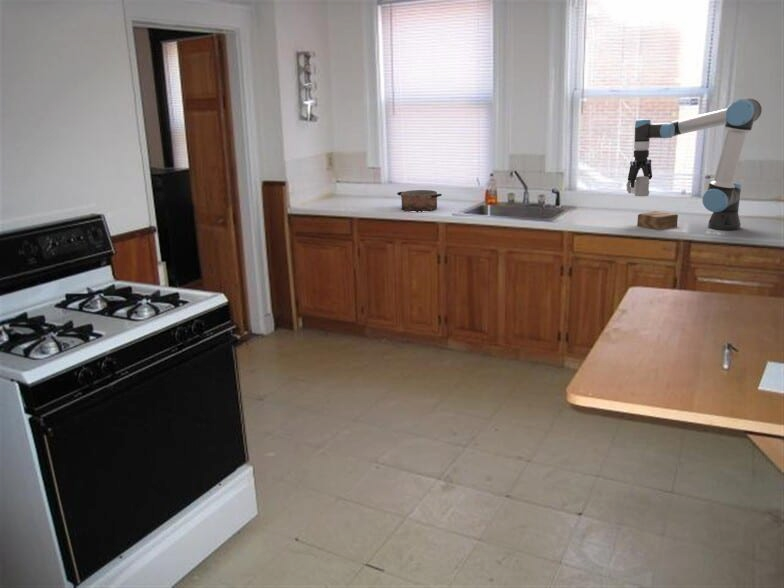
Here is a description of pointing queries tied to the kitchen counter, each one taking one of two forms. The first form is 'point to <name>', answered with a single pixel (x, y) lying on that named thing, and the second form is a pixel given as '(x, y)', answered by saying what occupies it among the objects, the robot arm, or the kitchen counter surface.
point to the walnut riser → (657, 220)
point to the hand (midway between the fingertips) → (639, 192)
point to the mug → (640, 186)
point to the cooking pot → (419, 200)
